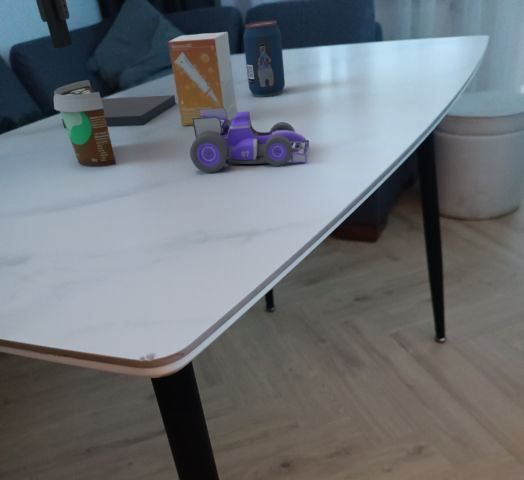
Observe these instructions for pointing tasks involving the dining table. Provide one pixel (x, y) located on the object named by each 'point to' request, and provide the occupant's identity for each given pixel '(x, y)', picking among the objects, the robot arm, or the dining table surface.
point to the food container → (85, 123)
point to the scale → (134, 109)
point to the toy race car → (241, 142)
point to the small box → (202, 74)
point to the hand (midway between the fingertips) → (63, 46)
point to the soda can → (264, 58)
